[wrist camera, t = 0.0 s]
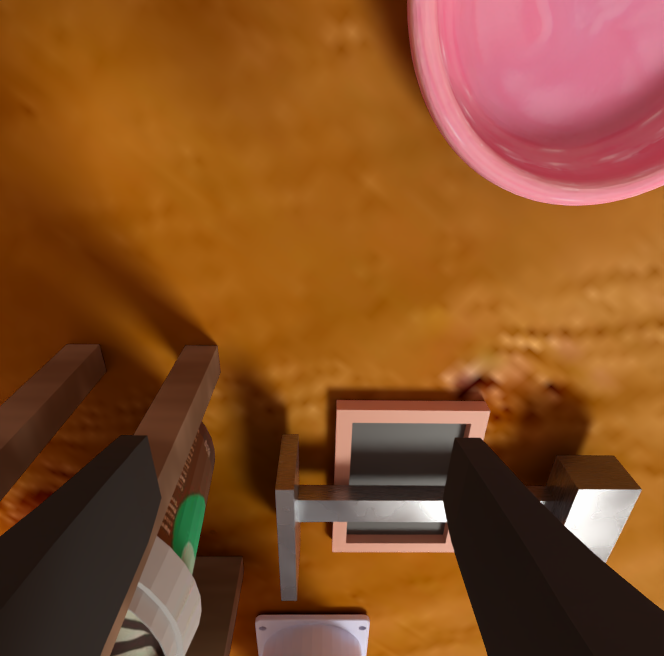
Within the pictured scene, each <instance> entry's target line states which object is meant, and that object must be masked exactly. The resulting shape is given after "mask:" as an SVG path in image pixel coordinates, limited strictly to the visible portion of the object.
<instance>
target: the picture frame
mask: <svg viewBox="0 0 664 656" xmlns="http://www.w3.org/2000/svg"><path fill="white" fill-rule="evenodd" d="M489 414H490V410H489V408H488V406H487V404H486V402H485V401H399V400H336V432H335V464H334V485H419V486H445V483H446V478H447V473H448V468H449V463H450V458H451V453H452V448H453V443H454V438H455V437H461V438H481V439H482V440H484V435H485V431H486V427H487V423H488V419H489ZM332 552H454V549H453V546H452V543H451V538H450V534H449V529H448V524H447V522H333V527H332Z"/></svg>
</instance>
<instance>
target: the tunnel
mask: <svg viewBox="0 0 664 656" xmlns="http://www.w3.org/2000/svg"><path fill="white" fill-rule="evenodd" d="M105 373H106V367H105V363H104V360H103V356H102V352H101V348H100V344H67V345H66V346H64V347H63V348H62V349H61V350H60V351H59V352H58V353H57V354H56V355H55V356H54V357H53V358H52V359H50V360H49V361H48V362H47V363H46V364H45V365H44V366H43V367H42V368H41V369H40V370H39V371H38V372H36V373H35V374H34V375H33V376H32V377H31V378H30V379H29V380H28V381H27V382H26V383H25V384H24V385H23V386H21V387H20V388H19V389H18V390H17V391H16V392H15V393H14V394H13V395H12V396H11V397H10V398H9V399H7V400H6V401H5V402H4V403H3V404H2V405H1V406H0V501H1V500H2V498H3V497H4V496H5V495H6V494H7V492H8V491H9V490H10V489H11V487H12V486H13V485H14V484H15V483H16V481H17V480H18V479H19V478H20V476H21V475H22V474H23V473H24V472H25V470H26V469H27V468H28V467H29V465H30V464H31V463H32V462H33V461H34V459H35V458H36V457H37V456H38V454H39V453H40V452H41V451H42V450H43V448H44V447H45V446H46V445H47V443H48V442H49V441H50V440H51V439H52V437H53V436H54V435H55V434H56V432H57V431H58V430H59V429H60V428H61V426H62V425H63V424H64V423H65V421H66V420H67V419H68V418H69V417H70V415H71V414H72V413H73V412H74V410H75V409H76V408H77V407H78V406H79V404H80V403H81V402H82V401H83V399H84V398H85V397H86V396H87V395H88V393H89V392H90V391H91V390H92V388H93V387H94V386H95V385H96V384H97V382H98V381H99V380H100V379H101V377H102V376H103V375H104V374H105ZM220 373H221V372H220V363H219V355H218V347H217V346H197V345H185V347H184V349H183V350H182V352H181V354H180V356H179V357H178V359H177V361H176V362H175V364H174V366H173V368H172V369H171V371H170V373H169V375H168V376H167V378H166V380H165V381H164V383H163V385H162V387H161V388H160V390H159V392H158V393H157V395H156V397H155V399H154V400H153V402H152V404H151V406H150V407H149V409H148V411H147V412H146V414H145V416H144V418H143V419H142V421H141V423H140V425H139V426H138V428H137V430H136V431H135V433H134V435H147V436H148V441H149V445H150V449H151V454H152V458H153V462H154V467H155V471H156V475H157V480H158V484H159V488H160V493H161V497H162V498H161V502H160V505H159V509H158V512H157V516H156V519H155V523H154V526H153V529H152V533H151V536H150V539H149V542H148V545H147V547H146V549H145V552H144V554H143V557H142V559H141V561H140V564H139V566H138V568H137V571H136V573H135V576H134V578H133V580H132V583H131V585H130V587H129V590H128V592H127V594H126V597H125V599H124V601H123V604H122V606H121V608H120V611H119V613H118V615H117V618H116V620H115V622H114V625H113V627H112V629H111V631H110V634H109V636H108V638H107V641H106V643H105V645H104V648H103V650H102V653H101V656H110V654H111V652H112V649H113V647H114V644H115V641H116V639H117V636H118V634H119V631H120V629H121V626H122V624H123V621H124V618H125V616H126V613H127V611H128V608H129V606H130V603H131V601H132V598H133V595H134V593H135V590H136V588H137V585H138V583H139V580H140V577H141V575H142V572H143V570H144V567H145V565H146V562H147V560H148V557H149V554H150V552H151V549H152V547H153V544H154V542H155V539H156V536H157V534H158V531H159V529H160V526H161V524H162V521H163V519H164V516H165V513H166V511H167V508H168V506H169V503H170V501H171V498H172V495H173V493H174V490H175V488H176V485H177V483H178V480H179V478H180V475H181V472H182V470H183V467H184V465H185V462H186V460H187V457H188V455H189V452H190V449H191V447H192V444H193V442H194V439H195V437H196V434H197V431H198V429H199V426H200V424H201V421H202V419H203V416H204V414H205V411H206V408H207V406H208V403H209V401H210V398H211V396H212V393H213V390H214V388H215V385H216V383H217V380H218V378H219V375H220ZM243 574H244V567H243V559H242V557H213V556H196V558H195V563H194V568H193V573H192V576H193V578H194V579H195V582H196V585H197V588H198V590H199V593H200V598H201V610H202V611H201V616H200V621H199V626H198V628H197V630H196V632H195V634H194V637H193V639H192V641H191V643H190V645H189V648H188V650H187V652H186V654H185V656H229V654H230V649H231V643H232V637H233V631H234V626H235V620H236V614H237V608H238V603H239V597H240V591H241V585H242V580H243Z"/></svg>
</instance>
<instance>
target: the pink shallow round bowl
mask: <svg viewBox="0 0 664 656" xmlns="http://www.w3.org/2000/svg"><path fill="white" fill-rule="evenodd" d="M407 19H408V31H409V41H410V49H411V55H412V60H413V65H414V70H415V74H416V77H417V81H418V84H419V87H420V90H421V93H422V96H423V99H424V101H425V104H426V106H427V108H428V111H429V113H430V115H431V117H432V119H433V121H434V122H435V124H436V126H437V128H438V129H439V131H440V132H441V134H442V135H443V137H444V138H445V140H446V141H447V142H448V144H449V145H450V147H451V148H452V149H453V150H454V151H455V152H456V154H457V155H458V156H459V157H460V158H461V159H462V160H463V161H464V162H465V163H466V164H467V165H468V166H469V167H471V168H472V169H473V170H474V171H476V172H477V173H478V174H480V175H481V176H482V177H484V178H485V179H487V180H488V181H490V182H492V183H494V184H495V185H497V186H499V187H501V188H503V189H505V190H507V191H509V192H511V193H514V194H516V195H519V196H522V197H525V198H528V199H531V200H534V201H539V202H543V203H549V204H559V205H594V204H602V203H608V202H613V201H618V200H622V199H626V198H629V197H633V196H636V195H639V194H642V193H645V192H647V191H650V190H653V189H655V188H658V187H660V186H662V185H664V0H407Z"/></svg>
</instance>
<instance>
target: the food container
mask: <svg viewBox="0 0 664 656" xmlns="http://www.w3.org/2000/svg"><path fill="white" fill-rule="evenodd" d="M214 462H215V452H214V446H213V442H212V439H211V437H210V435H209V432H208V430H207V428H206V427H205V425H204V424H203V422H202V421H201V424H200V426H199V429H198V431H197V434H196V437H195V439H194V442H193V444H192V447H191V449H190V452H189V455H188V457H187V460H186V462H185V465H184V467H183V470H182V472H181V475H180V478H179V480H178V483H177V485H176V488H175V490H174V493H173V495H172V498H171V501H170V503H169V506H168V508H167V511H166V513H165V516H164V519H163V521H162V524H161V526H160V529H159V531H158V534H157V536H156V539H155V542H154V544H153V547H152V549H151V552H150V554H149V557H148V560H147V562H146V565H145V567H144V570H143V572H142V575H141V577H140V580H139V583H138V585H137V588H136V590H135V593H134V595H133V598H132V601H131V603H130V606H129V608H128V611H127V613H126V616H125V618H124V621H123V624H122V626H121V629H120V631H119V634H118V636H117V639H116V641H115V644H114V647H113V649H112V652H111V654H110V656H185V654H186V652H187V650H188V648H189V645H190V643H191V641H192V639H193V637H194V634H195V632H196V630H197V628H198V626H199V621H200V616H201V611H202V610H201V598H200V593H199V590H198V588H197V585H196V582H195V579H194V578H193V576H192V573H193V568H194V563H195V558H196V553H197V548H198V543H199V538H200V533H201V528H202V523H203V518H204V513H205V509H206V504H207V499H208V494H209V489H210V484H211V479H212V474H213V469H214Z"/></svg>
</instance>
